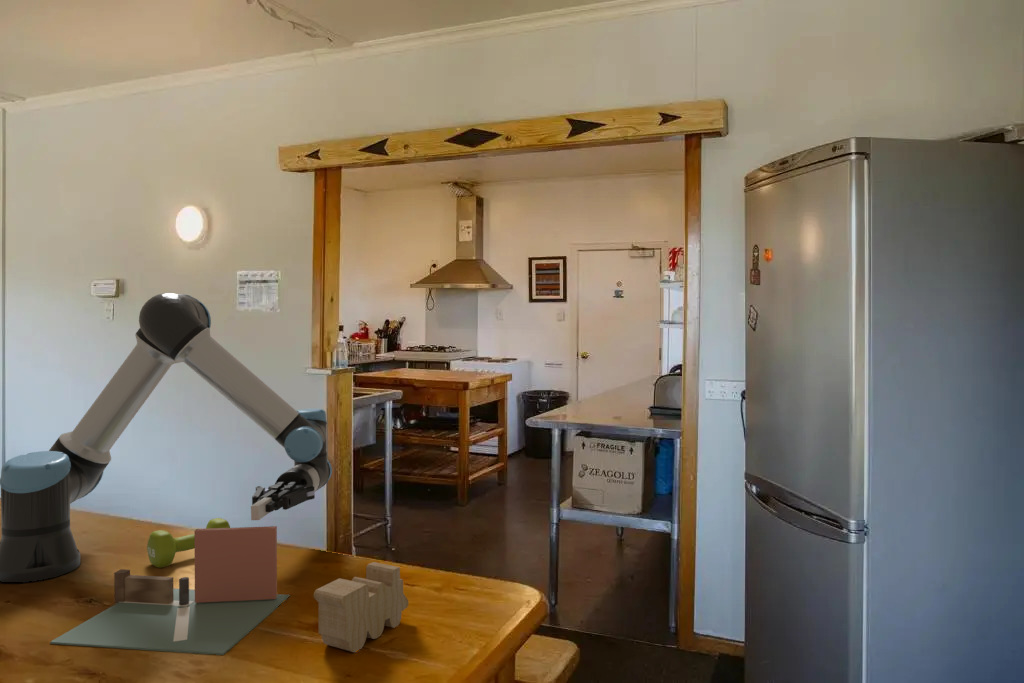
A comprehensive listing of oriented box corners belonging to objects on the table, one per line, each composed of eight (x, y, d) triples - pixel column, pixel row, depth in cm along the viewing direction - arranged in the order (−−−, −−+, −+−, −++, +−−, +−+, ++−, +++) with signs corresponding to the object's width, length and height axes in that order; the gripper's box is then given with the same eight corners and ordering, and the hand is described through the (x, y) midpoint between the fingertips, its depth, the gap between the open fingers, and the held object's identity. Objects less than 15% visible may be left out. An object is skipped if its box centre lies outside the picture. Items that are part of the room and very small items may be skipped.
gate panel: (194, 602, 126) (194, 530, 126) (196, 600, 127) (196, 528, 127) (275, 598, 128) (275, 528, 128) (276, 596, 129) (276, 526, 129)
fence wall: (114, 603, 127) (114, 572, 127) (121, 599, 129) (121, 569, 129) (185, 607, 125) (185, 576, 125) (191, 603, 127) (191, 572, 127)
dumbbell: (159, 572, 143) (158, 537, 143) (143, 563, 149) (143, 529, 149) (235, 553, 156) (235, 521, 156) (218, 545, 161) (218, 514, 161)
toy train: (408, 620, 121) (408, 562, 121) (341, 661, 106) (341, 596, 106) (382, 613, 123) (382, 557, 123) (313, 653, 108) (313, 589, 108)
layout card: (50, 643, 111) (50, 641, 111) (145, 588, 134) (145, 586, 134) (223, 655, 108) (223, 653, 107) (289, 596, 131) (289, 594, 131)
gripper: (326, 501, 157) (289, 532, 133) (268, 501, 157) (221, 532, 134) (325, 467, 157) (288, 493, 133) (268, 467, 157) (220, 493, 134)
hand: (254, 513), depth 134 cm, fingers closed
